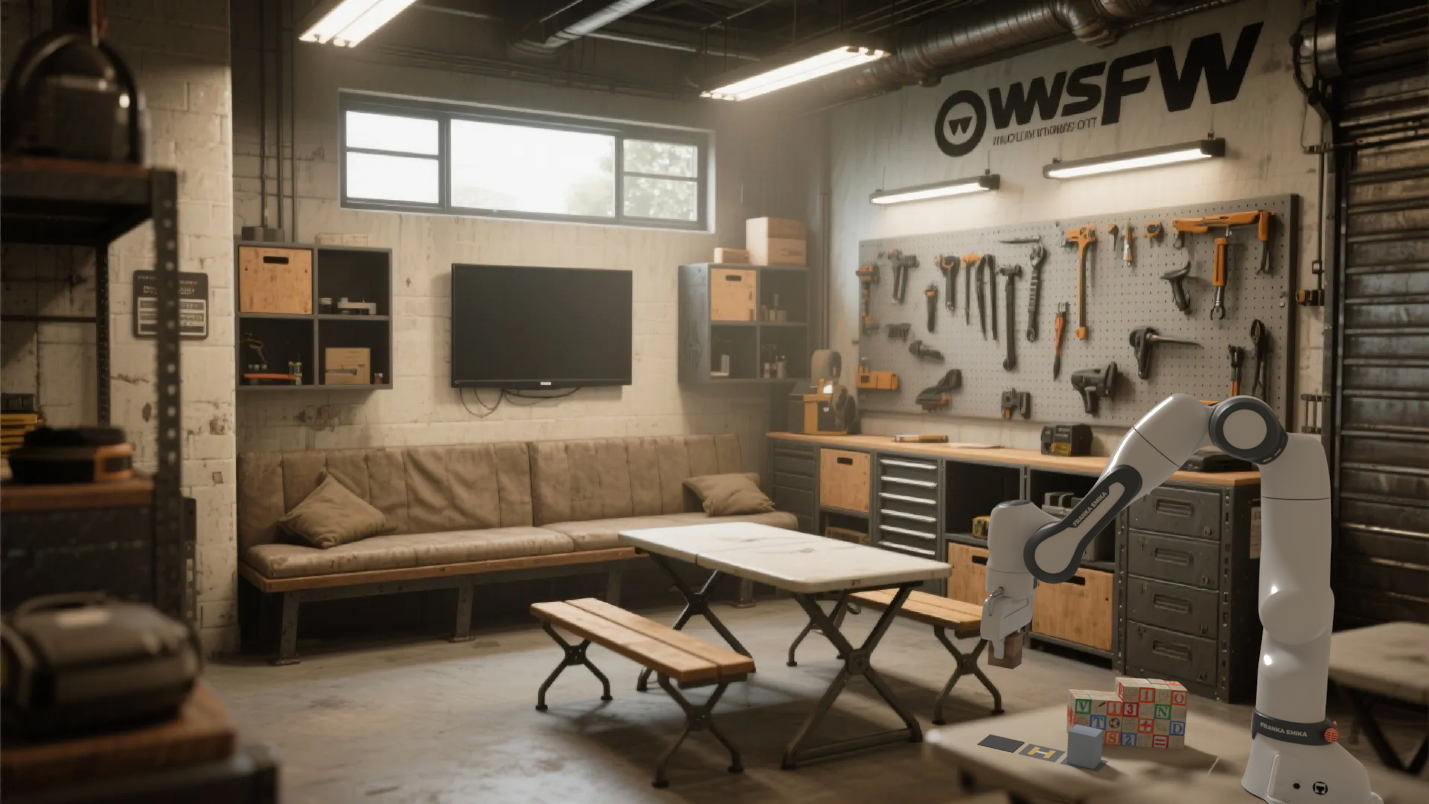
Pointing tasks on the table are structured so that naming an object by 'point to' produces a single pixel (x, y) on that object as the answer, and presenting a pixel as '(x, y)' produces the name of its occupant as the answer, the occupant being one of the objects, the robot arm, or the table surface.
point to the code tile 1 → (1041, 752)
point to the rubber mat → (1001, 743)
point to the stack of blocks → (1133, 712)
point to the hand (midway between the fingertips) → (1005, 654)
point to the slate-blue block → (1084, 746)
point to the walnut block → (1008, 652)
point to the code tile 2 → (1086, 767)
